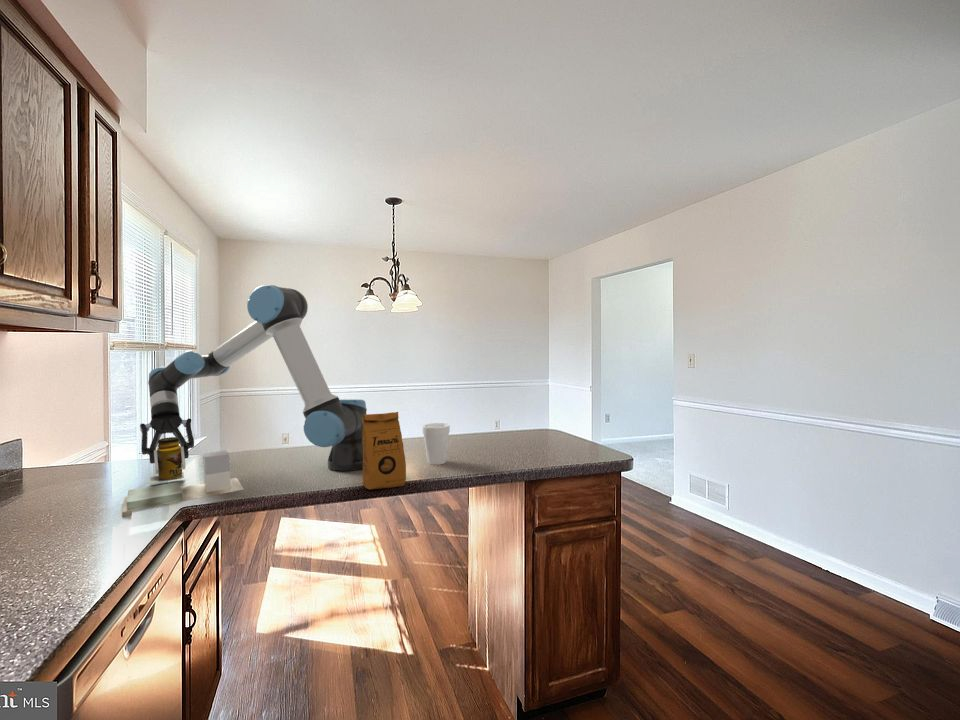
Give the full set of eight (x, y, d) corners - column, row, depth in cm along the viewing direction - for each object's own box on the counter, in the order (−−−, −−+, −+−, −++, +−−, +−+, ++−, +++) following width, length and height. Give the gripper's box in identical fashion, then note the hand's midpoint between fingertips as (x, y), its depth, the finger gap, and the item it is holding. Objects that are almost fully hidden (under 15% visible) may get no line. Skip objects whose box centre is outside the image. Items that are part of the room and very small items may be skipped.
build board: (236, 481, 146) (236, 471, 146) (244, 493, 135) (244, 482, 135) (124, 501, 130) (123, 490, 130) (122, 516, 119) (121, 504, 119)
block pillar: (227, 482, 141) (226, 450, 141) (230, 487, 136) (228, 454, 136) (204, 486, 138) (202, 453, 137) (206, 492, 133) (205, 457, 132)
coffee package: (408, 488, 137) (406, 413, 136) (364, 493, 133) (362, 417, 132) (402, 478, 146) (400, 408, 145) (361, 483, 142) (359, 411, 141)
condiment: (184, 478, 141) (181, 439, 140) (149, 484, 136) (147, 443, 136) (183, 472, 147) (181, 435, 146) (150, 478, 142) (148, 438, 142)
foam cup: (419, 464, 161) (418, 427, 161) (428, 458, 170) (427, 422, 170) (445, 466, 159) (444, 428, 158) (453, 459, 168) (452, 423, 167)
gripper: (198, 411, 159) (206, 469, 147) (129, 419, 148) (131, 482, 136) (199, 397, 155) (207, 456, 142) (127, 404, 144) (129, 468, 131)
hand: (170, 468), depth 139 cm, fingers closed on condiment, 6 cm apart
